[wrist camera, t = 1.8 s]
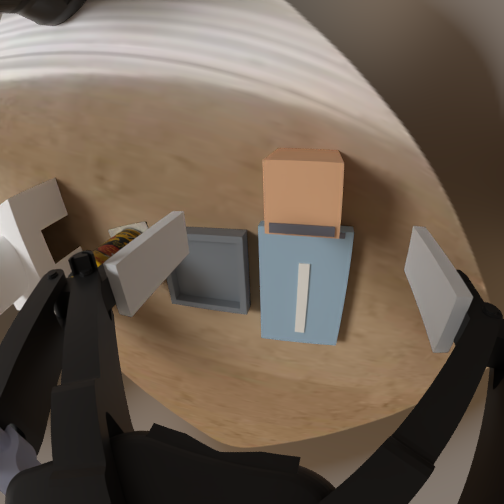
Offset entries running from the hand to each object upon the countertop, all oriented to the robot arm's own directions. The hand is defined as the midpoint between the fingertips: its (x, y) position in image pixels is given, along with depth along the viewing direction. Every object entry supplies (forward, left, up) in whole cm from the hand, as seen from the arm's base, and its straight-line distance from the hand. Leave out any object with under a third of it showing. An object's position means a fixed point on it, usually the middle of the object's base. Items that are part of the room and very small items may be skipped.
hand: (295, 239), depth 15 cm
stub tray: (+11, -12, -15) cm, 22 cm away
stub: (0, 0, -15) cm, 15 cm away
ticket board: (+13, 0, -15) cm, 20 cm away
